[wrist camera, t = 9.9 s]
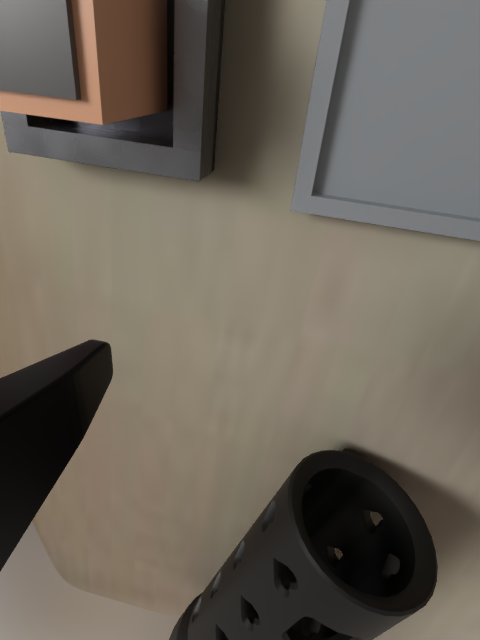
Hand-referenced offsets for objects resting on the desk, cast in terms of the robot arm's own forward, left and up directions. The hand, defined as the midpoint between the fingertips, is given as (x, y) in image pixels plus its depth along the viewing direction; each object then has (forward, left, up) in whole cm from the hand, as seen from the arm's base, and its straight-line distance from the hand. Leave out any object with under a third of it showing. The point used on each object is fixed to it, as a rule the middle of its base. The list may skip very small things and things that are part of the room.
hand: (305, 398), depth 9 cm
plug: (+10, -6, -12) cm, 17 cm away
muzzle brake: (-2, +28, -13) cm, 31 cm away
